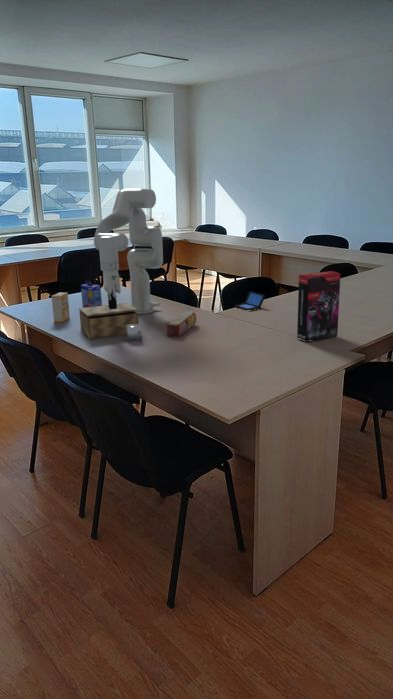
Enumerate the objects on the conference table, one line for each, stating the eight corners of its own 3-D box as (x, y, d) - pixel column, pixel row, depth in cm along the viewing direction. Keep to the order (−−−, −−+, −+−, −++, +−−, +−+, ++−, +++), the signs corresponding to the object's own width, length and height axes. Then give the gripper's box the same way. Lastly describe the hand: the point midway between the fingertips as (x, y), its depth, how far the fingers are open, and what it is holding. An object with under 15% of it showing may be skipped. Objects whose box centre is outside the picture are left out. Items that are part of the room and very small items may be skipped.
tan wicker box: (127, 323, 245) (126, 305, 242) (138, 332, 230) (137, 313, 228) (81, 329, 237) (79, 310, 234) (89, 339, 222) (87, 319, 219)
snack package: (180, 338, 222) (179, 323, 220) (165, 337, 225) (165, 321, 222) (196, 325, 241) (196, 311, 239) (183, 324, 243) (183, 310, 241)
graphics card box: (305, 343, 213) (309, 276, 204) (294, 339, 219) (298, 274, 210) (337, 337, 220) (342, 272, 212) (326, 333, 226) (331, 270, 218)
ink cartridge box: (81, 307, 276) (79, 280, 272) (89, 305, 281) (87, 278, 276) (95, 310, 271) (92, 282, 266) (102, 308, 275) (100, 280, 270)
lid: (126, 304, 242) (126, 303, 242) (137, 311, 227) (137, 309, 227) (79, 310, 234) (79, 308, 234) (87, 316, 219) (87, 314, 219)
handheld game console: (233, 307, 273) (233, 293, 271) (249, 304, 279) (249, 290, 277) (249, 312, 264) (250, 297, 261) (265, 308, 270) (265, 294, 267)
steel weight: (138, 336, 225) (137, 323, 223) (142, 340, 220) (142, 326, 218) (124, 338, 223) (124, 325, 221) (128, 342, 217) (128, 328, 215)
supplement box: (63, 323, 248) (60, 295, 244) (53, 322, 249) (50, 295, 244) (70, 318, 255) (68, 292, 251) (61, 318, 256) (58, 291, 252)
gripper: (123, 268, 212) (126, 311, 218) (113, 262, 225) (116, 303, 231) (105, 269, 209) (108, 314, 215) (96, 264, 222) (100, 305, 228)
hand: (112, 308), depth 223 cm, fingers closed
